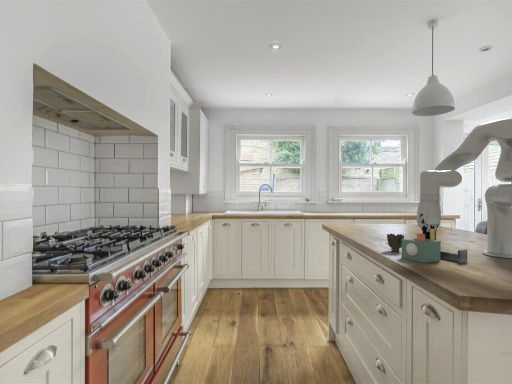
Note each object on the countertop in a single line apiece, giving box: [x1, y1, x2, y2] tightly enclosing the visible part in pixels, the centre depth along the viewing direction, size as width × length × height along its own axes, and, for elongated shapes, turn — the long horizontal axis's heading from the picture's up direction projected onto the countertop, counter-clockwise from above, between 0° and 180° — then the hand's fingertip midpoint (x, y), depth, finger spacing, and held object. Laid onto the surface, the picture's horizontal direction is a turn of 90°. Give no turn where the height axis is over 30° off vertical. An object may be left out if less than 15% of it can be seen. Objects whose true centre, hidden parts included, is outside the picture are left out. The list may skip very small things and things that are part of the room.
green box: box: [401, 237, 441, 264], centre depth 123 cm, size 10×10×8 cm
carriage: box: [429, 228, 435, 240], centre depth 131 cm, size 6×6×11 cm
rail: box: [440, 248, 468, 264], centre depth 127 cm, size 4×19×5 cm, turn 24°
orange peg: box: [416, 233, 425, 241], centre depth 123 cm, size 3×3×8 cm
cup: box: [386, 233, 405, 253], centre depth 139 cm, size 8×7×8 cm
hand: (429, 239), depth 131 cm, fingers closed on carriage, 3 cm apart
